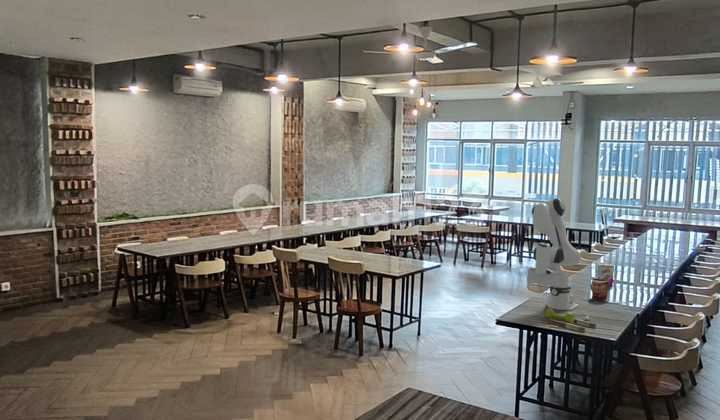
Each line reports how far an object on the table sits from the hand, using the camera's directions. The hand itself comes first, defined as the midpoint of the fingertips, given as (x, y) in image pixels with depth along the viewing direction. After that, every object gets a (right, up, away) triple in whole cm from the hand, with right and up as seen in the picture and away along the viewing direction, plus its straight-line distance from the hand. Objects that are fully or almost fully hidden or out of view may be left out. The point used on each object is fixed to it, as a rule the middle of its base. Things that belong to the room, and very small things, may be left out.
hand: (542, 291), depth 354 cm
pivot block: (+23, -18, -10) cm, 31 cm away
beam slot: (+12, -18, -12) cm, 25 cm away
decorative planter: (+56, -12, +50) cm, 76 cm away
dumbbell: (+8, -18, -8) cm, 21 cm away
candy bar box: (+78, -8, +92) cm, 121 cm away
